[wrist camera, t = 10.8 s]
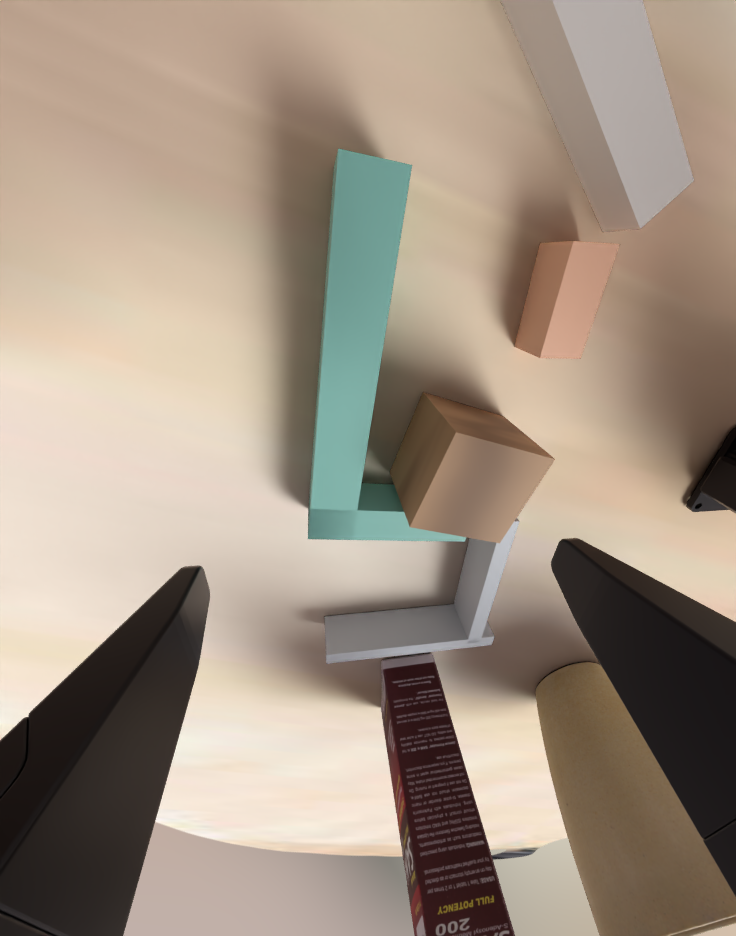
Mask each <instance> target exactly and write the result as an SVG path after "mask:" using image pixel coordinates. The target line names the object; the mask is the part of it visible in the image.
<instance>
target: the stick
mask: <svg viewBox="0 0 736 936" xmlns="http://www.w3.org/2000/svg"><path fill="white" fill-rule="evenodd" d="M500 1H501V4H502V6H503V8H504V10H505V13H506V15H507V17H508V19H509V22H510V24H511V26H512V29H513V31H514V33H515V35H516V38H517V40H518V42H519V44H520V47H521V49H522V51H523V53H524V56H525V58H526V60H527V62H528V65H529V67H530V69H531V71H532V74H533V76H534V78H535V81H536V83H537V85H538V87H539V90H540V92H541V94H542V96H543V99H544V101H545V103H546V105H547V108H548V110H549V112H550V114H551V117H552V119H553V121H554V123H555V126H556V128H557V130H558V133H559V135H560V137H561V139H562V142H563V144H564V146H565V148H566V151H567V153H568V155H569V157H570V160H571V162H572V164H573V166H574V169H575V171H576V173H577V175H578V178H579V180H580V182H581V185H582V187H583V189H584V191H585V194H586V196H587V198H588V200H589V203H590V205H591V207H592V209H593V212H594V214H595V216H596V218H597V221H598V223H599V225H600V227H601V230H602V232H610V231H622V230H635V229H641V228H642V227H643V226H644V225H645V224H646V223H648V222H649V221H650V220H651V219H652V218H653V217H654V216H655V215H656V214H658V213H659V212H660V211H661V210H662V209H663V208H664V207H665V206H667V205H668V204H669V203H670V202H671V201H672V200H673V199H674V198H675V197H677V196H678V195H679V194H680V193H681V192H682V191H683V190H684V189H685V188H687V187H688V186H689V185H690V184H691V183H692V182H693V181H694V178H693V175H692V171H691V168H690V164H689V161H688V157H687V154H686V150H685V147H684V143H683V140H682V136H681V133H680V129H679V126H678V122H677V119H676V115H675V112H674V108H673V105H672V101H671V98H670V94H669V91H668V87H667V84H666V80H665V77H664V73H663V70H662V66H661V63H660V59H659V56H658V52H657V49H656V45H655V42H654V38H653V35H652V31H651V28H650V24H649V21H648V17H647V14H646V10H645V7H644V3H643V0H500Z"/></svg>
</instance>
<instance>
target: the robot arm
mask: <svg viewBox="0 0 736 936" xmlns="http://www.w3.org/2000/svg"><path fill="white" fill-rule="evenodd" d="M686 507H687V508H688V509H690V510H691V511H693V512H700V511H716V510H731V511H733V512H734V513H736V427H735V428H734V429H733V430H732V431H731V432H730V434H729V435H728V437H727V439H726V440H725V442H724V444H723V445H722V447H721V449H720V450H719V452H718V453H717V455H716V457H715V458H714V460H713V462H712V463H711V465H710V467H709V468H708V470H707V471H706V473H705V475H704V476H703V478H702V480H701V481H700V483H699V485H698V486H697V488H696V489H695V491H694V493H693V494H692V496H691V498H690V499H689V501H688V503H687V505H686ZM551 567H552V571H553V573H554V575H555V577H556V580H557V582H558V584H559V586H560V588H561V590H562V593H563V595H564V597H565V599H566V601H567V603H568V606H569V608H570V610H571V612H572V614H573V616H574V618H575V620H576V622H577V624H578V626H579V628H580V630H581V632H582V633H583V635H584V637H585V639H586V640H587V642H588V644H589V645H590V647H591V649H592V651H593V652H594V654H595V656H596V657H597V659H598V661H599V663H600V664H601V666H602V668H603V669H604V671H605V673H606V675H607V676H608V678H609V680H610V682H611V683H612V685H613V687H614V688H615V690H616V692H617V694H618V695H619V697H620V699H621V700H622V702H623V704H624V706H625V707H626V709H627V711H628V712H629V714H630V716H631V718H632V719H633V721H634V723H635V724H636V726H637V728H638V730H639V731H640V733H641V735H642V737H643V738H644V740H645V742H646V743H647V745H648V747H649V749H650V750H651V752H652V754H653V755H654V757H655V759H656V761H657V762H658V764H659V766H660V767H661V769H662V771H663V773H664V774H665V776H666V778H667V779H668V781H669V783H670V785H671V786H672V788H673V790H674V791H675V793H676V795H677V797H678V798H679V800H680V802H681V804H682V805H683V807H684V809H685V810H686V812H687V814H688V816H689V817H690V819H691V821H692V822H693V824H694V826H695V828H696V829H697V831H698V833H699V834H700V836H701V837H702V838H703V842H704V844H705V845H706V847H707V849H708V850H709V852H710V854H711V856H712V857H713V859H714V861H715V862H716V864H717V866H718V868H719V869H720V871H721V873H722V874H723V876H724V878H725V880H726V881H727V883H728V885H729V887H730V888H731V890H732V892H733V893H734V895H735V897H736V622H734V621H733V620H731V619H729V618H727V617H725V616H723V615H721V614H719V613H717V612H716V611H714V610H712V609H710V608H708V607H706V606H704V605H702V604H701V603H699V602H697V601H695V600H693V599H691V598H689V597H687V596H686V595H684V594H682V593H680V592H678V591H676V590H674V589H672V588H670V587H669V586H667V585H665V584H663V583H661V582H659V581H657V580H655V579H654V578H652V577H650V576H648V575H646V574H644V573H642V572H640V571H639V570H637V569H635V568H633V567H631V566H629V565H627V564H625V563H623V562H622V561H620V560H618V559H616V558H614V557H612V556H610V555H608V554H607V553H605V552H603V551H601V550H599V549H597V548H595V547H593V546H592V545H590V544H588V543H586V542H584V541H582V540H580V539H577V538H569V539H562V540H561V541H560V542H559V544H558V546H557V548H556V551H555V553H554V556H553V558H552V561H551ZM209 600H210V590H209V586H208V583H207V579H206V576H205V572H204V569H203V568H202V567H201V566H187V567H183V568H181V569H180V570H179V571H178V572H177V573H175V574H174V575H173V576H172V577H171V578H170V579H169V580H168V581H167V582H166V583H165V584H164V585H163V586H162V587H161V588H160V589H159V590H158V591H157V592H156V593H155V594H153V595H152V596H151V597H150V598H149V599H148V600H147V601H146V602H145V603H144V604H143V605H142V606H141V607H140V608H139V609H138V610H137V611H136V612H135V613H134V614H132V615H131V616H130V617H129V618H128V619H127V620H126V621H125V622H124V623H123V624H122V625H121V626H120V627H119V628H118V629H117V630H116V631H115V632H114V633H113V634H112V635H110V636H109V637H108V638H107V639H106V640H105V641H104V642H103V643H102V644H101V645H100V646H99V647H98V648H97V649H96V650H95V651H94V652H93V653H92V654H91V655H90V656H88V657H87V658H86V659H85V660H84V661H83V662H82V663H81V664H80V665H79V666H78V667H77V668H76V669H75V670H74V671H73V672H72V673H71V674H70V675H69V676H68V677H66V678H65V679H64V680H63V681H62V682H61V683H60V684H59V685H58V686H57V687H56V688H55V689H54V690H53V691H52V692H51V693H50V694H49V695H48V696H47V697H45V698H44V699H43V700H42V701H41V702H40V703H39V704H38V705H37V706H36V707H35V708H34V709H33V710H32V711H31V712H30V713H29V717H25V718H23V719H22V720H21V721H20V722H19V723H18V724H17V725H16V726H15V727H14V728H13V729H12V730H11V731H10V732H9V733H8V734H6V735H5V736H4V737H3V738H2V739H1V740H0V936H123V934H124V930H125V927H126V923H127V920H128V916H129V913H130V909H131V906H132V902H133V898H134V895H135V891H136V888H137V884H138V881H139V877H140V873H141V870H142V866H143V862H144V859H145V856H146V852H147V848H148V845H149V841H150V838H151V834H152V830H153V827H154V824H155V820H156V816H157V813H158V809H159V806H160V802H161V799H162V795H163V792H164V788H165V784H166V781H167V777H168V774H169V770H170V767H171V763H172V759H173V756H174V752H175V749H176V745H177V742H178V738H179V734H180V731H181V727H182V724H183V720H184V717H185V713H186V709H187V706H188V702H189V699H190V695H191V692H192V688H193V685H194V681H195V677H196V673H197V669H198V666H199V660H200V655H201V649H202V643H203V637H204V631H205V624H206V618H207V612H208V606H209Z"/></svg>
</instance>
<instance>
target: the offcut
mask: <svg viewBox="0 0 736 936" xmlns="http://www.w3.org/2000/svg"><path fill="white" fill-rule="evenodd" d="M619 246H620V244H611V243H597V242H583V241H563V242H547V243H540V245H539V249H538V253H537V257H536V261H535V265H534V269H533V273H532V277H531V281H530V285H529V289H528V293H527V297H526V301H525V305H524V309H523V313H522V317H521V321H520V325H519V330H518V334H517V338H516V342H515V346H514V347H517V348H519V349H521V350H523V351H526V352H528V353H530V354H532V355H535V356H537V357H539V358H574V359H581V356H582V353H583V350H584V347H585V344H586V341H587V339H588V336H589V333H590V330H591V327H592V324H593V321H594V318H595V315H596V313H597V310H598V307H599V304H600V301H601V298H602V295H603V292H604V289H605V286H606V284H607V281H608V278H609V275H610V272H611V269H612V266H613V263H614V260H615V258H616V255H617V252H618V249H619Z"/></svg>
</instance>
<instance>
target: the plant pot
mask: <svg viewBox="0 0 736 936" xmlns="http://www.w3.org/2000/svg"><path fill="white" fill-rule="evenodd" d="M535 694H536V701H537V708H538V714H539V720H540V725H541V731H542V736H543V741H544V746H545V750H546V755H547V760H548V764H549V768H550V773H551V777H552V781H553V785H554V789H555V793H556V796H557V800H558V804H559V807H560V811H561V815H562V818H563V822H564V826H565V829H566V833H567V836H568V839H569V842H570V846H571V849H572V853H573V856H574V859H575V862H576V865H577V868H578V871H579V874H580V878H581V880H582V884H583V886H584V890H585V893H586V896H587V899H588V901H589V905H590V908H591V911H592V914H593V917H594V920H595V923H596V926H597V929H598V932H599V935H600V936H693V935H697V934H701V933H704V932H708V931H711V930H715V929H718V928H722V927H725V926H728V925H732V924H735V923H736V897H735V895H734V893H733V892H732V890H731V888H730V887H729V885H728V883H727V881H726V880H725V878H724V876H723V874H722V873H721V871H720V869H719V868H718V866H717V864H716V862H715V861H714V859H713V857H712V856H711V854H710V852H709V850H708V849H707V847H706V845H705V844H704V842H703V838H702V837H701V836H700V834H699V833H698V831H697V829H696V828H695V826H694V824H693V822H692V821H691V819H690V817H689V816H688V814H687V812H686V810H685V809H684V807H683V805H682V804H681V802H680V800H679V798H678V797H677V795H676V793H675V791H674V790H673V788H672V786H671V785H670V783H669V781H668V779H667V778H666V776H665V774H664V773H663V771H662V769H661V767H660V766H659V764H658V762H657V761H656V759H655V757H654V755H653V754H652V752H651V750H650V749H649V747H648V745H647V743H646V742H645V740H644V738H643V737H642V735H641V733H640V731H639V730H638V728H637V726H636V724H635V723H634V721H633V719H632V718H631V716H630V714H629V712H628V711H627V709H626V707H625V706H624V704H623V702H622V700H621V699H620V697H619V695H618V694H617V692H616V690H615V688H614V687H613V685H612V683H611V682H610V680H609V678H608V676H607V675H606V673H605V671H604V669H603V668H602V666H601V665H599V664H597V663H592V662H584V663H576V664H572V665H569V666H566V667H563V668H561V669H559V670H557V671H555V672H553V673H551V674H550V675H548V676H547V677H546V678H544V679H543V680H542V681H541V682H540V683H539V685H538V686H537V688H536V692H535Z"/></svg>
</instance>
